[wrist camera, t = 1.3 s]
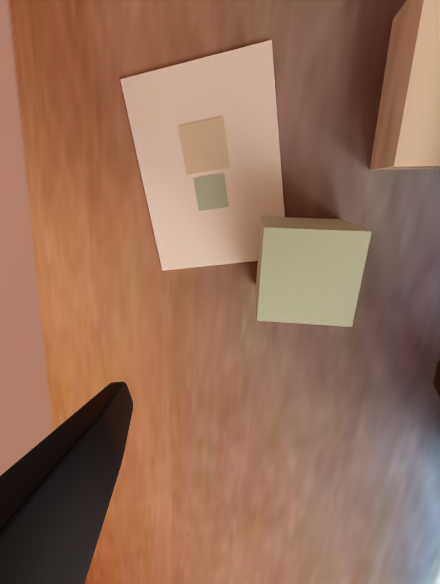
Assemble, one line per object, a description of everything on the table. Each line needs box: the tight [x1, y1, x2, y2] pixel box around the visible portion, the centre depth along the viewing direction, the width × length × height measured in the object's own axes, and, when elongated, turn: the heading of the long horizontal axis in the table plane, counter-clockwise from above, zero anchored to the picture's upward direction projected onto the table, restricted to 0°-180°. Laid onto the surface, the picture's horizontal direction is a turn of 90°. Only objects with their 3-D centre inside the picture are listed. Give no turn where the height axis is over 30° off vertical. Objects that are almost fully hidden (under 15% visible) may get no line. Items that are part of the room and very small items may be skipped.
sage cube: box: [256, 216, 371, 327], centre depth 17 cm, size 5×5×5 cm
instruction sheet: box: [120, 40, 285, 271], centre depth 19 cm, size 9×12×1 cm
